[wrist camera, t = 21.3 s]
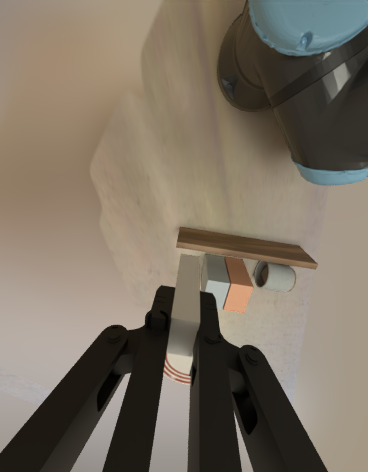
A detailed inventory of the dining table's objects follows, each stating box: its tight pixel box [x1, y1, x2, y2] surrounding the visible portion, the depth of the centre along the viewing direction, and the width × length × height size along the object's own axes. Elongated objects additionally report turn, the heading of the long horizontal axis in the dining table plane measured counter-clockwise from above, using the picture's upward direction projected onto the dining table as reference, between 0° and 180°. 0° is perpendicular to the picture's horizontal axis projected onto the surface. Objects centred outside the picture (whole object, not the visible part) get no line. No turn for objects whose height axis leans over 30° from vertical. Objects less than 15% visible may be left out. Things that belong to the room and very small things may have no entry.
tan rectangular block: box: [223, 257, 253, 313], centre depth 51 cm, size 8×5×12 cm, turn 172°
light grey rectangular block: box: [201, 254, 230, 310], centre depth 51 cm, size 8×5×12 cm, turn 172°
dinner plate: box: [163, 353, 193, 385], centre depth 71 cm, size 27×27×3 cm
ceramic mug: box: [254, 261, 296, 292], centre depth 51 cm, size 11×8×8 cm
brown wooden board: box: [176, 227, 318, 269], centre depth 48 cm, size 1×32×9 cm, turn 82°
